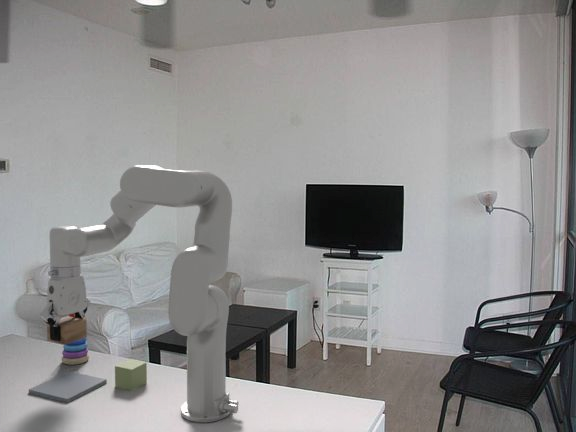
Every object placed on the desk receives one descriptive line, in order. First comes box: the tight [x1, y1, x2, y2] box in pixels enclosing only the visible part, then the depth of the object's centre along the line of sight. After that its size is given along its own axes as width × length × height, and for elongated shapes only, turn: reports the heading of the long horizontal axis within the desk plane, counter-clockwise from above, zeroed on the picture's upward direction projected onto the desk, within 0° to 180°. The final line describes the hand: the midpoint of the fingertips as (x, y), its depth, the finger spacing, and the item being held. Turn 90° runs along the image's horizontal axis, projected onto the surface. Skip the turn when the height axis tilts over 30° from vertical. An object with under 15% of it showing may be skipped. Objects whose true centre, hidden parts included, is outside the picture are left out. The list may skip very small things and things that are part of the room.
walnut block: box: [46, 315, 88, 345], centre depth 141 cm, size 7×7×5 cm
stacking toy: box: [61, 314, 90, 366], centre depth 162 cm, size 8×8×19 cm
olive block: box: [114, 358, 148, 392], centre depth 145 cm, size 6×6×6 cm
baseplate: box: [28, 370, 107, 404], centre depth 143 cm, size 14×14×1 cm
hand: (67, 335), depth 141 cm, fingers closed on walnut block, 7 cm apart
